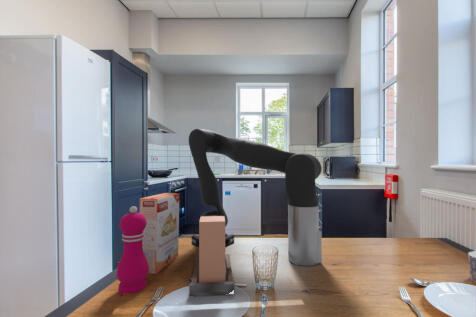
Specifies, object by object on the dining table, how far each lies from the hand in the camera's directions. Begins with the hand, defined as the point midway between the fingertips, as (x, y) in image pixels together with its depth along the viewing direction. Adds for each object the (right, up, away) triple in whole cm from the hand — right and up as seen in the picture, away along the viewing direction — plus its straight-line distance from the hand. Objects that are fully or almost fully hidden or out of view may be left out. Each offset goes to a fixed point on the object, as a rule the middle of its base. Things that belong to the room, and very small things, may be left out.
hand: (212, 249), depth 65 cm
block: (0, -7, -3) cm, 8 cm away
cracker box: (-16, -9, +10) cm, 21 cm away
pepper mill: (-19, -8, -4) cm, 21 cm away
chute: (0, -8, +3) cm, 9 cm away
